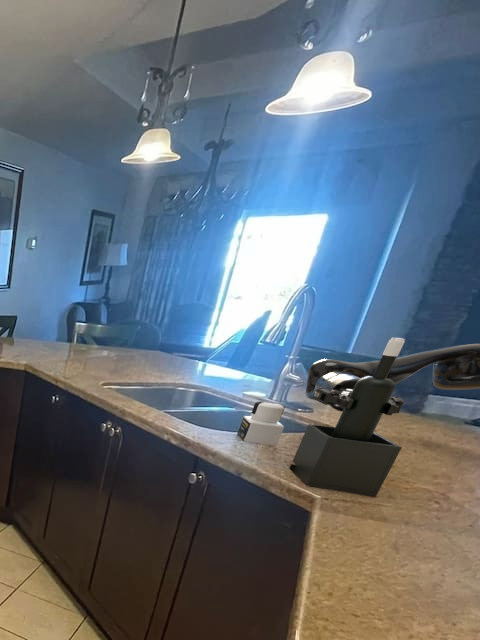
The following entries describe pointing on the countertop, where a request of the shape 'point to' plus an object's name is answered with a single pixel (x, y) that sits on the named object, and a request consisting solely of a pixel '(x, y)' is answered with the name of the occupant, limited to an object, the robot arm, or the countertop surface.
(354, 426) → the wine bottle
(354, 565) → the countertop surface
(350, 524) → the countertop surface
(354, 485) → the bin
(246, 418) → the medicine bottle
